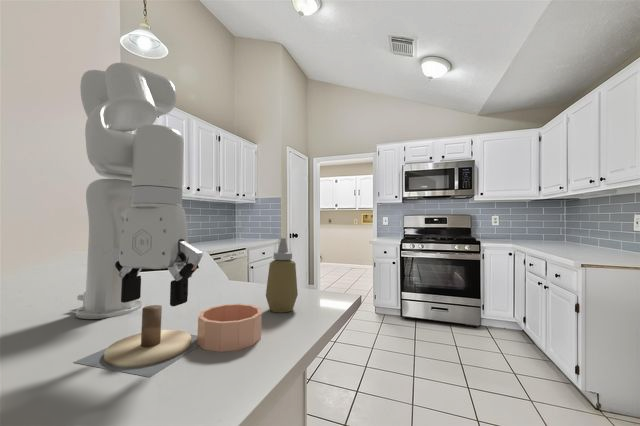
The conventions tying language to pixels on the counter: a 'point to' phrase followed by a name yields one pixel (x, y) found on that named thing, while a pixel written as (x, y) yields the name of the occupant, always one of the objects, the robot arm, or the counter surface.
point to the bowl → (229, 327)
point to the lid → (148, 343)
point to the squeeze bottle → (282, 281)
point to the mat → (145, 371)
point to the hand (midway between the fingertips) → (154, 302)
